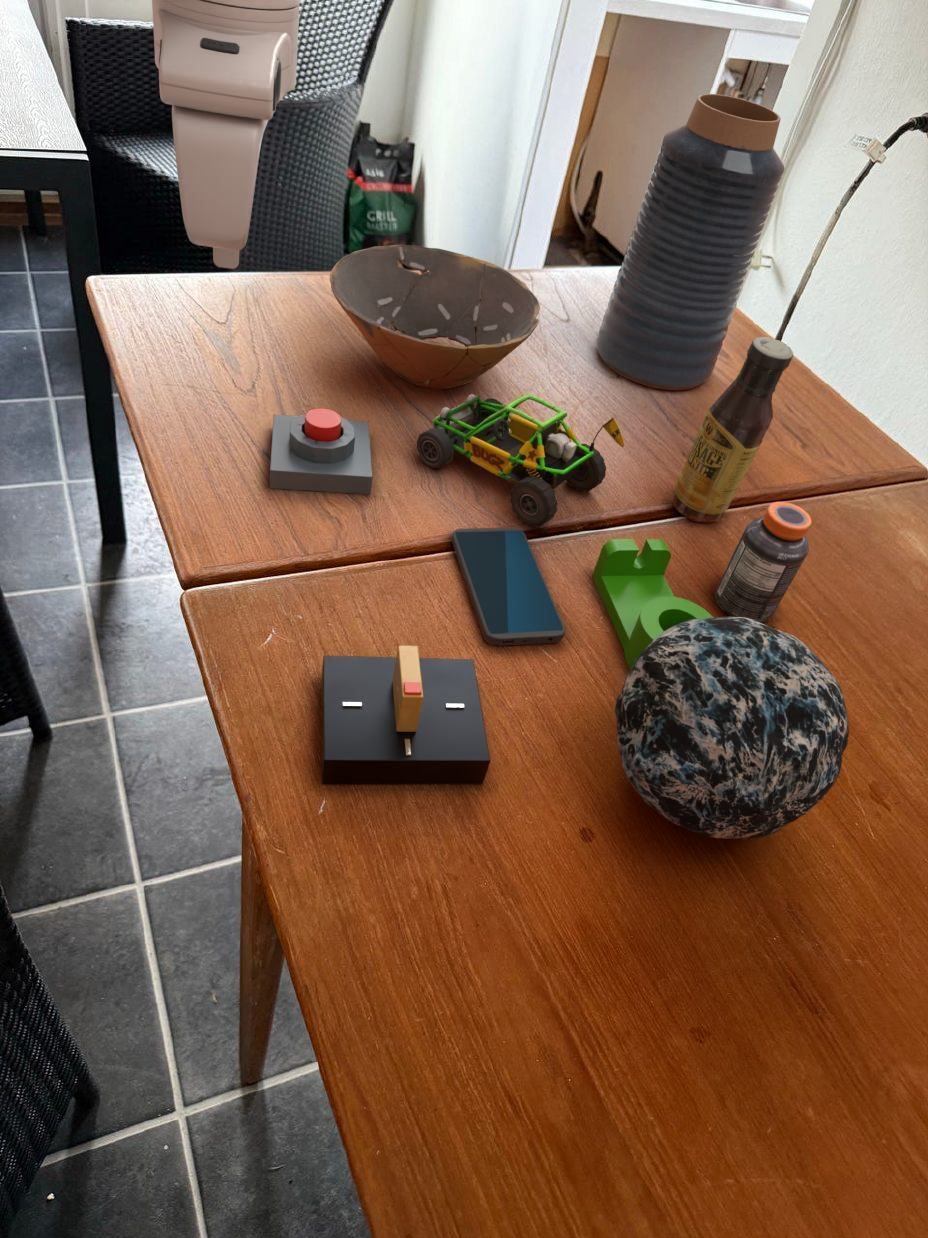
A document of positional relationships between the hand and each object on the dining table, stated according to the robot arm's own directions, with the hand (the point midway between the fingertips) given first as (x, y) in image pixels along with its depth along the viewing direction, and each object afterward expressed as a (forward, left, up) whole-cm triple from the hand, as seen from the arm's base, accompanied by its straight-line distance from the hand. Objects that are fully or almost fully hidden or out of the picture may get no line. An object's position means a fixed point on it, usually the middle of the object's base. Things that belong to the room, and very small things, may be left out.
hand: (227, 259), depth 65 cm
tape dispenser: (+38, -12, -25) cm, 47 cm away
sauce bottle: (+49, +7, -25) cm, 56 cm away
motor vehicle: (+28, +11, -25) cm, 39 cm away
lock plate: (+14, -24, -25) cm, 38 cm away
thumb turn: (+14, -24, -22) cm, 36 cm away
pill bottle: (+49, -8, -25) cm, 56 cm away
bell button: (+8, +11, -21) cm, 25 cm away
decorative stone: (+37, -29, -25) cm, 54 cm away
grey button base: (+8, +11, -25) cm, 28 cm away
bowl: (+21, +33, -25) cm, 46 cm away
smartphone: (+25, -7, -25) cm, 36 cm away
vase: (+53, +40, -25) cm, 71 cm away
